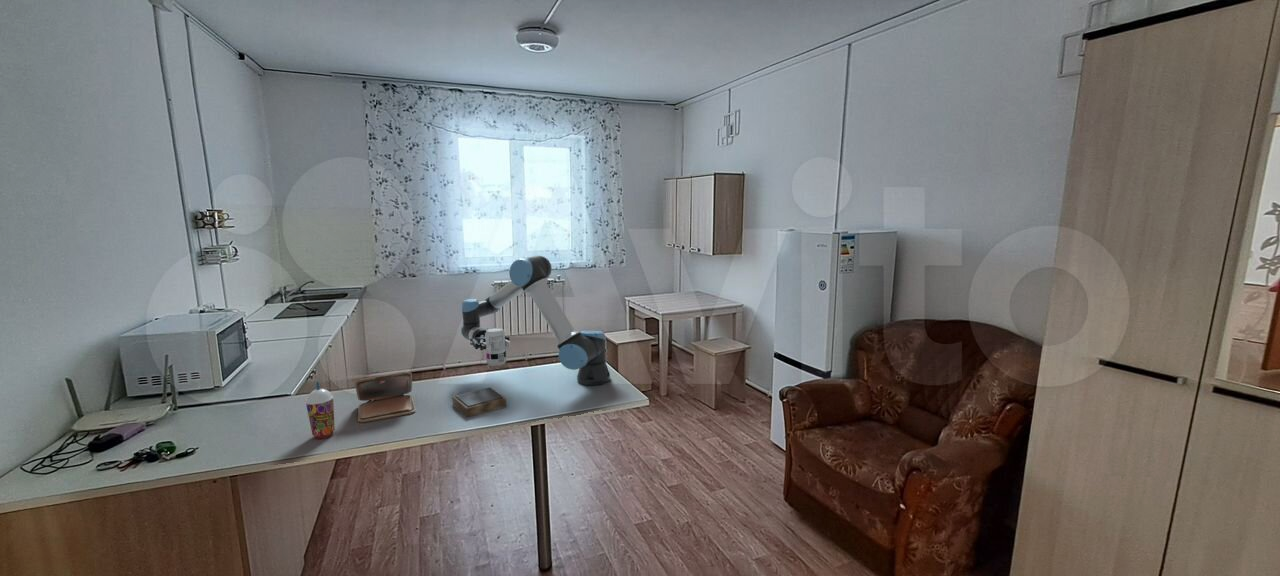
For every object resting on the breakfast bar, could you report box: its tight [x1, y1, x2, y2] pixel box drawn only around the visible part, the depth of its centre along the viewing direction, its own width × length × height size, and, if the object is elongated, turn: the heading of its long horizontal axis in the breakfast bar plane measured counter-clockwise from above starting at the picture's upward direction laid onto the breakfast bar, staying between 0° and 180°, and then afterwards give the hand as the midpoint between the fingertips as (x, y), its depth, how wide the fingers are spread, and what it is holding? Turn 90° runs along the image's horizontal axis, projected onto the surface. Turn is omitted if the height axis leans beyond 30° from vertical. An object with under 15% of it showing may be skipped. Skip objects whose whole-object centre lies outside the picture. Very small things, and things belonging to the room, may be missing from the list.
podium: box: [452, 387, 508, 418], centre depth 205 cm, size 16×16×4 cm
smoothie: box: [305, 381, 336, 440], centre depth 178 cm, size 8×8×20 cm
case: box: [354, 370, 417, 424], centre depth 201 cm, size 20×21×16 cm
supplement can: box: [485, 327, 507, 367], centre depth 218 cm, size 8×8×15 cm
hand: (500, 346), depth 214 cm, fingers closed on supplement can, 8 cm apart
